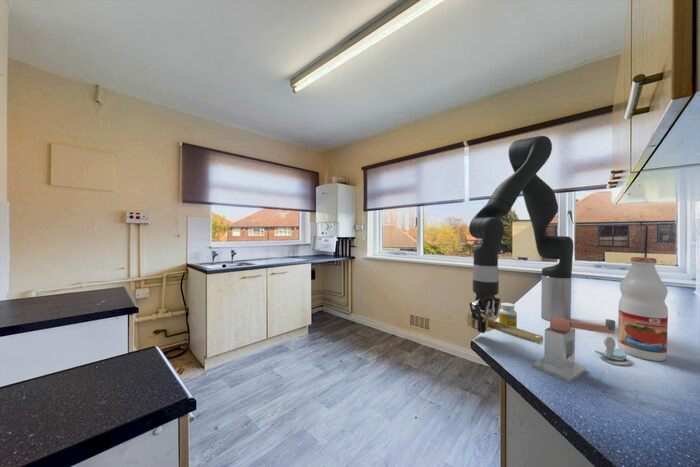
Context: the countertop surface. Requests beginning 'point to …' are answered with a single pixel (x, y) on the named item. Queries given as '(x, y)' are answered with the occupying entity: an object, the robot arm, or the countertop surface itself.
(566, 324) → the lock lever
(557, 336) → the eye bracket
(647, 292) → the fruit juice
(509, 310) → the supplement bottle
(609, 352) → the pacifier
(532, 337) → the gold bolt
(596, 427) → the countertop surface
